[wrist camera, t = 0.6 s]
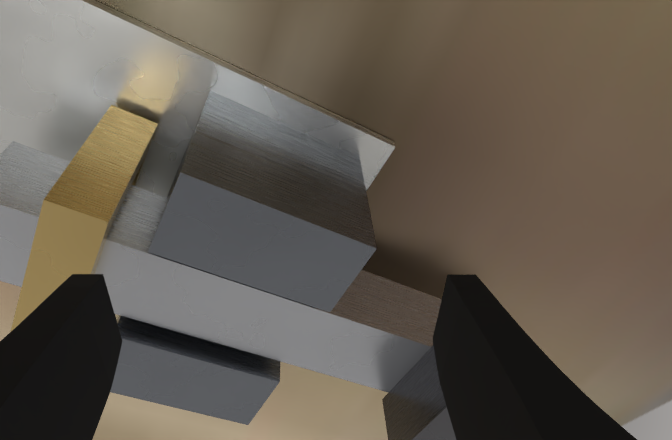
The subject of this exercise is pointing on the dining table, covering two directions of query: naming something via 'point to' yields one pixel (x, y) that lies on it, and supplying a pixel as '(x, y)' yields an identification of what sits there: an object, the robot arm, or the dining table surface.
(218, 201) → the bearing block
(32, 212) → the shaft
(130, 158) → the brass spacer
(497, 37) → the dining table surface
